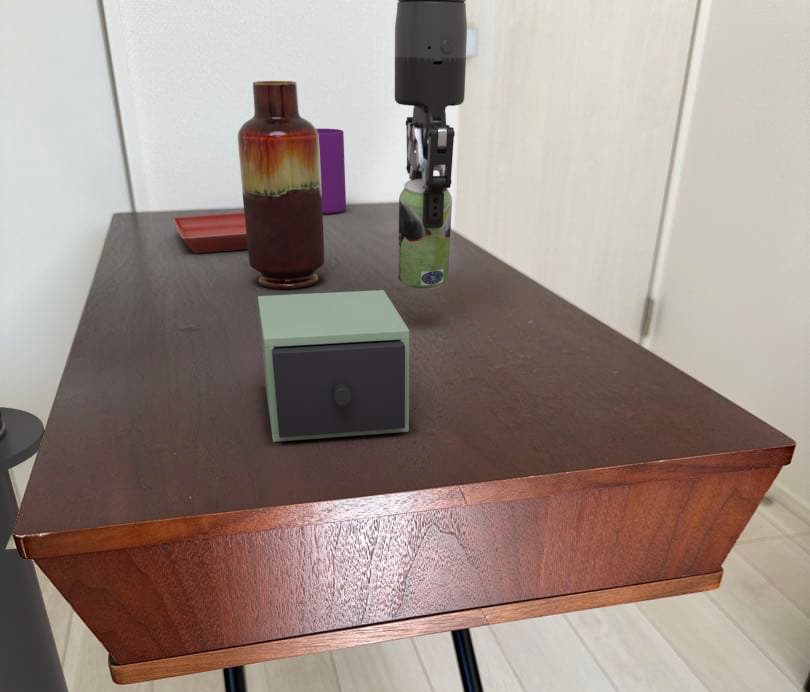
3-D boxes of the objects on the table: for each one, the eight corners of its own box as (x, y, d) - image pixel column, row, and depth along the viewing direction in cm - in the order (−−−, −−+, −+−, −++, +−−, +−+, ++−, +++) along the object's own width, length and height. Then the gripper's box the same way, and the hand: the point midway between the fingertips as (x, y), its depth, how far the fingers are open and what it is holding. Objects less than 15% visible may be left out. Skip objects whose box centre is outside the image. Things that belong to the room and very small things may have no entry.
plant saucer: (184, 257, 138) (181, 236, 136) (174, 235, 153) (171, 216, 151) (292, 249, 143) (291, 229, 141) (272, 229, 158) (271, 210, 156)
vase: (335, 275, 128) (327, 80, 115) (311, 293, 119) (299, 84, 105) (267, 270, 130) (252, 79, 117) (238, 288, 121) (218, 83, 108)
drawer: (407, 433, 76) (407, 349, 72) (280, 443, 74) (273, 357, 70) (382, 380, 87) (381, 305, 83) (272, 387, 85) (265, 311, 81)
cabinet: (409, 431, 78) (409, 330, 73) (272, 442, 76) (263, 338, 71) (385, 380, 90) (383, 289, 85) (265, 388, 88) (257, 296, 83)
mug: (349, 214, 171) (347, 132, 163) (272, 217, 168) (266, 134, 160) (342, 206, 178) (339, 127, 171) (269, 209, 175) (262, 129, 168)
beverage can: (440, 279, 105) (444, 175, 99) (456, 294, 99) (461, 184, 93) (391, 281, 104) (392, 176, 98) (404, 296, 98) (405, 185, 91)
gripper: (383, 52, 94) (384, 211, 102) (408, 54, 81) (406, 235, 90) (449, 52, 95) (444, 210, 103) (483, 55, 83) (474, 233, 91)
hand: (426, 221), depth 97 cm, fingers closed on beverage can, 6 cm apart
